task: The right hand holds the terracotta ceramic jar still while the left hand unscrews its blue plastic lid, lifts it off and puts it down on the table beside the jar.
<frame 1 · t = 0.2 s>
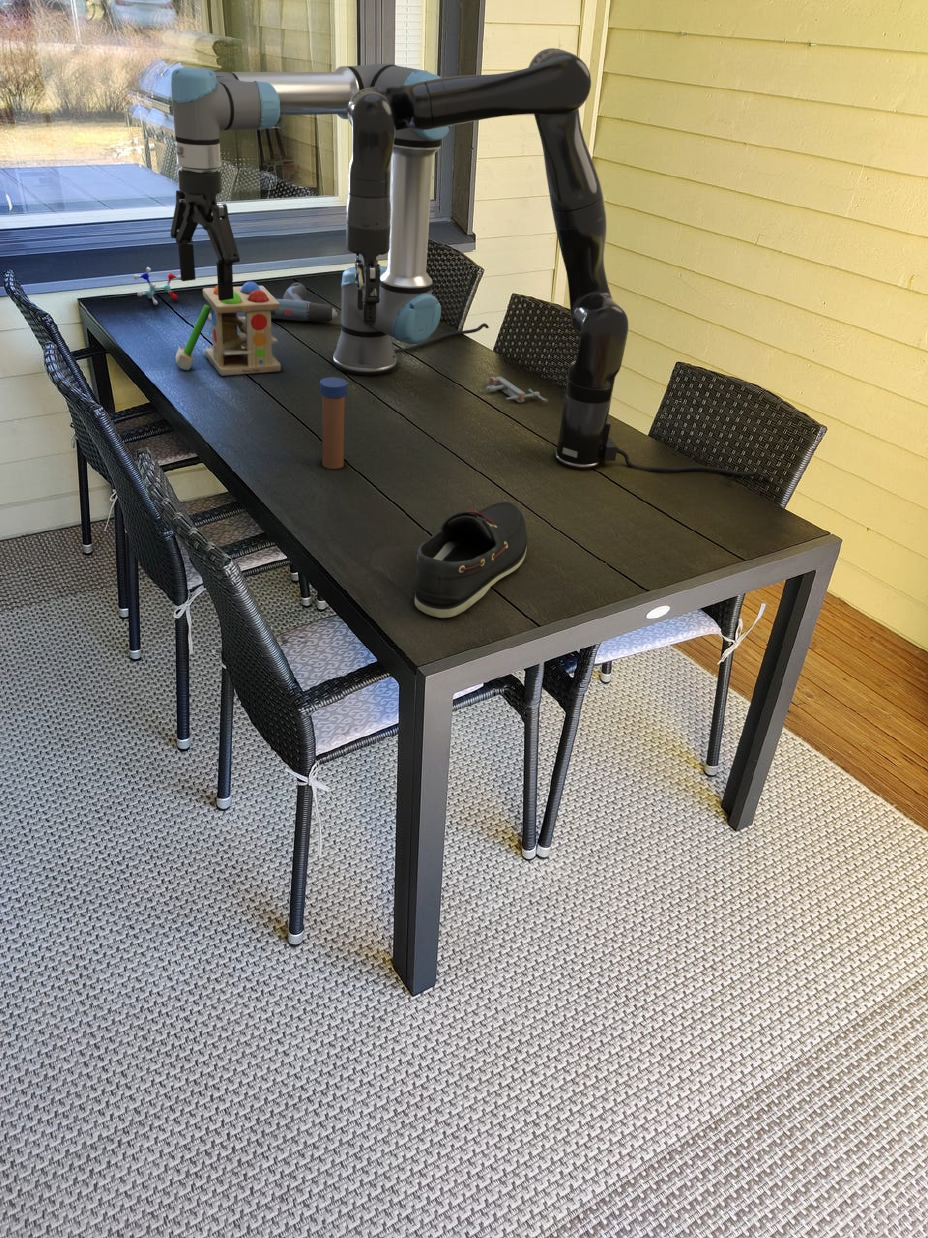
left hand: (206, 289, 186), 28 cm above the table, tool pointing down, fingers open, 13 cm apart
right hand: (366, 316, 176), 29 cm above the table, tool pointing down, fingers open, 8 cm apart
pounding bench toy: (225, 365, 230), on the table
jar: (333, 464, 192), on the table
power drill: (305, 313, 267), on the table
boat shoe: (471, 570, 163), on the table
clamp: (512, 397, 229), on the table
molecular model: (156, 300, 266), on the table
lid: (333, 383, 183), point 16 cm above the table, screwed on, not yet turned
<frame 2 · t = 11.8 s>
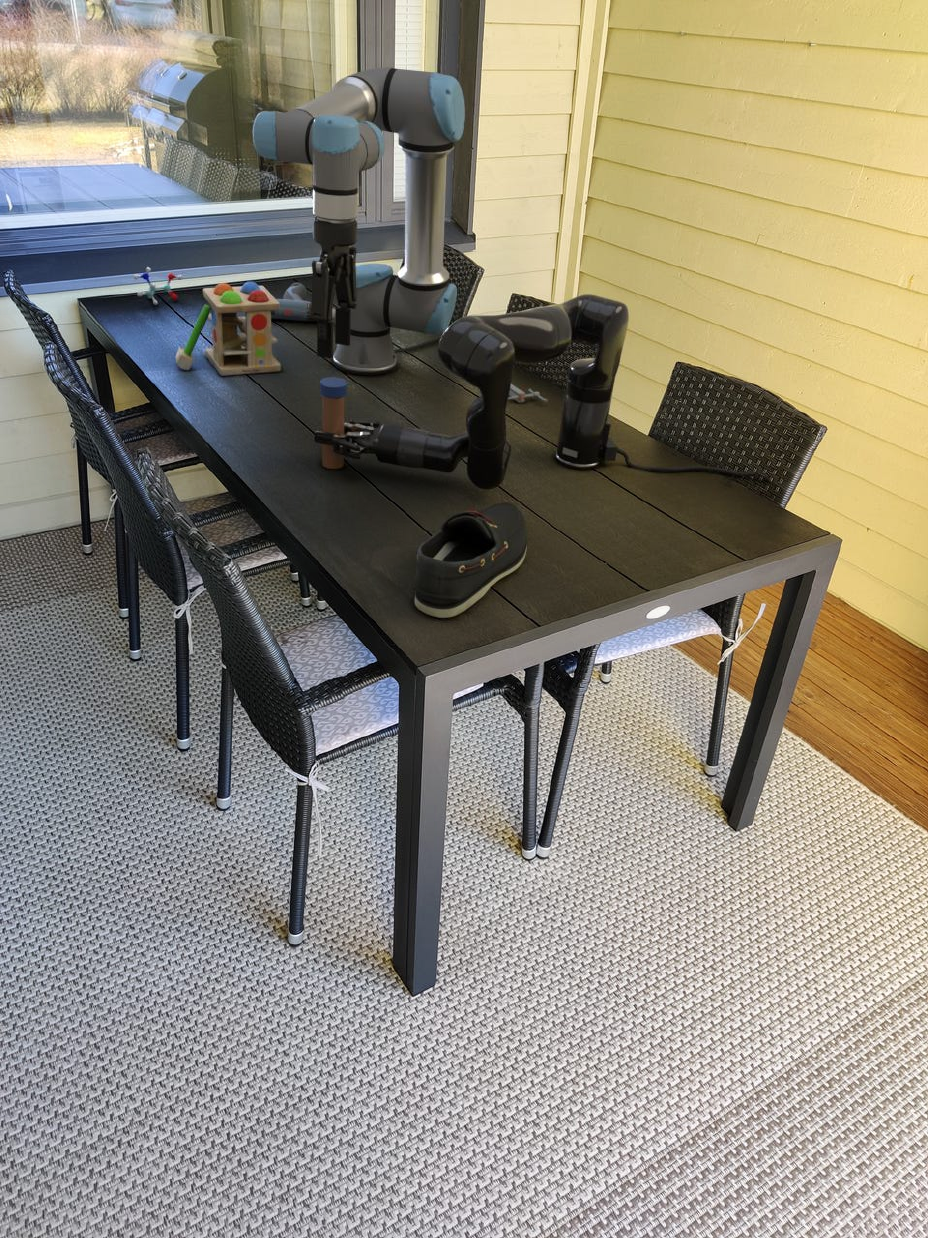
left hand: (334, 349, 179), 23 cm above the table, tool pointing down, fingers open, 7 cm apart
right hand: (319, 431, 189), 6 cm above the table, tool horizontal, fingers closed on jar, 4 cm apart
jar: (333, 464, 192), on the table, touching right hand
everything else where it was.
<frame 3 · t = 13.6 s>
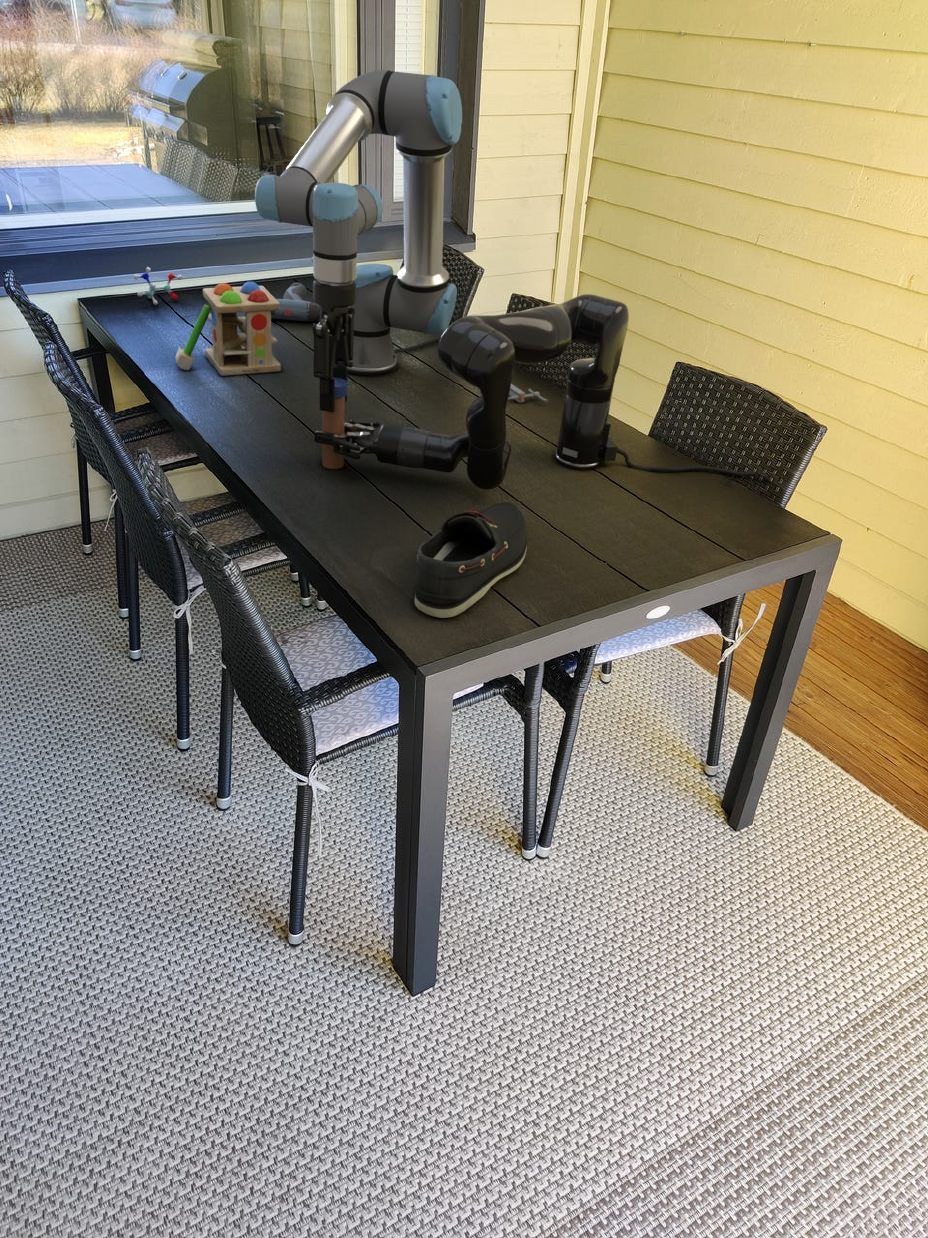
left hand: (333, 405, 185), 12 cm above the table, tool pointing down, fingers closed on lid, 5 cm apart
right hand: (319, 431, 189), 6 cm above the table, tool horizontal, fingers closed on jar, 4 cm apart
jar: (333, 464, 192), on the table, touching right hand
lid: (333, 383, 183), point 16 cm above the table, screwed on, not yet turned, touching left hand
everything else where it was.
when the left hand's fingers open (12 cm above the table, at t = 14.9 s): lid stays where it is, point 17 cm above the table.
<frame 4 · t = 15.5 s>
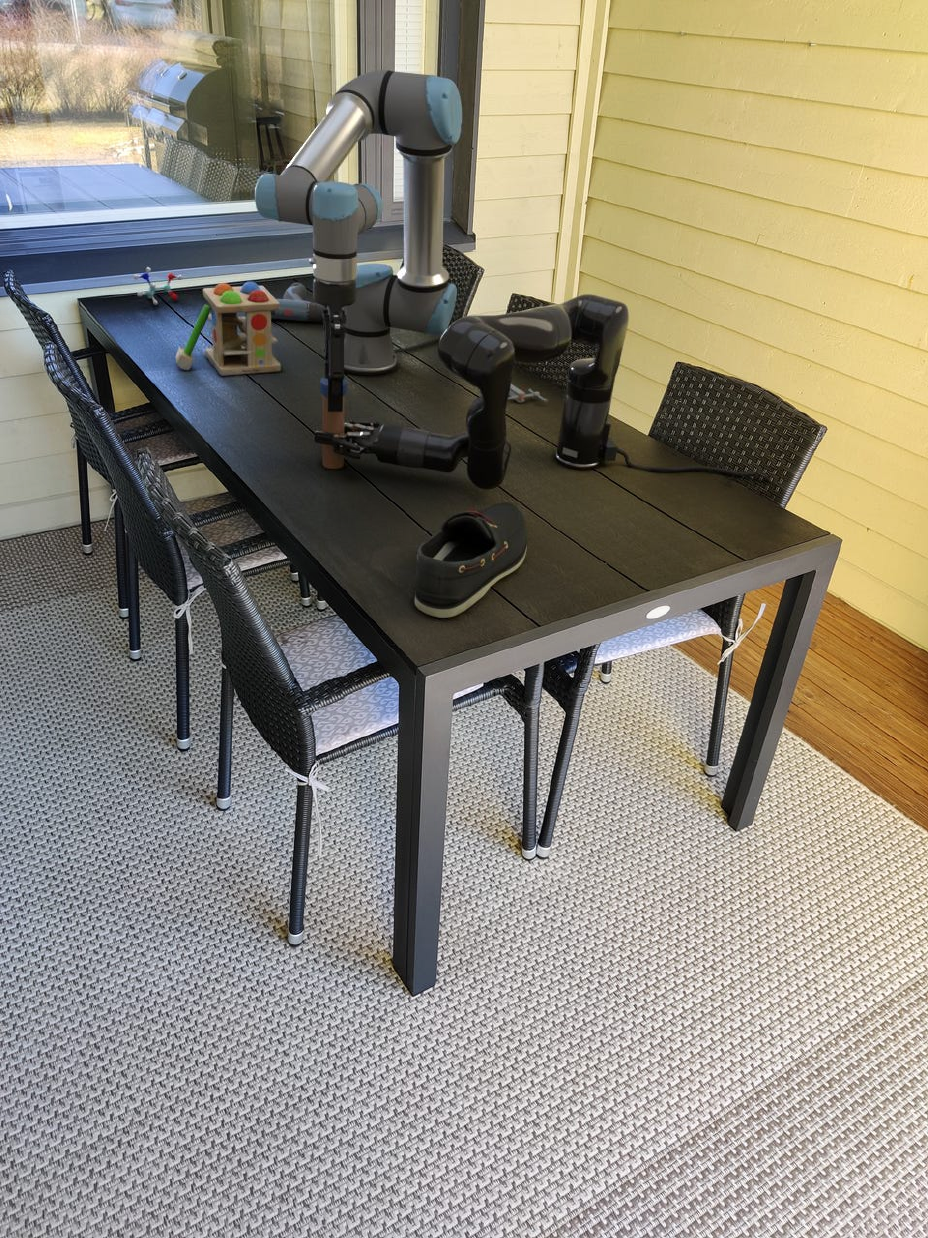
left hand: (333, 402, 185), 13 cm above the table, tool pointing down, fingers open, 7 cm apart
right hand: (319, 431, 189), 6 cm above the table, tool horizontal, fingers closed on jar, 4 cm apart
jar: (333, 464, 192), on the table, touching right hand
lid: (333, 382, 182), point 17 cm above the table, turned 82° so far, risen 0.2 cm, still on its thread
everything else where it was.
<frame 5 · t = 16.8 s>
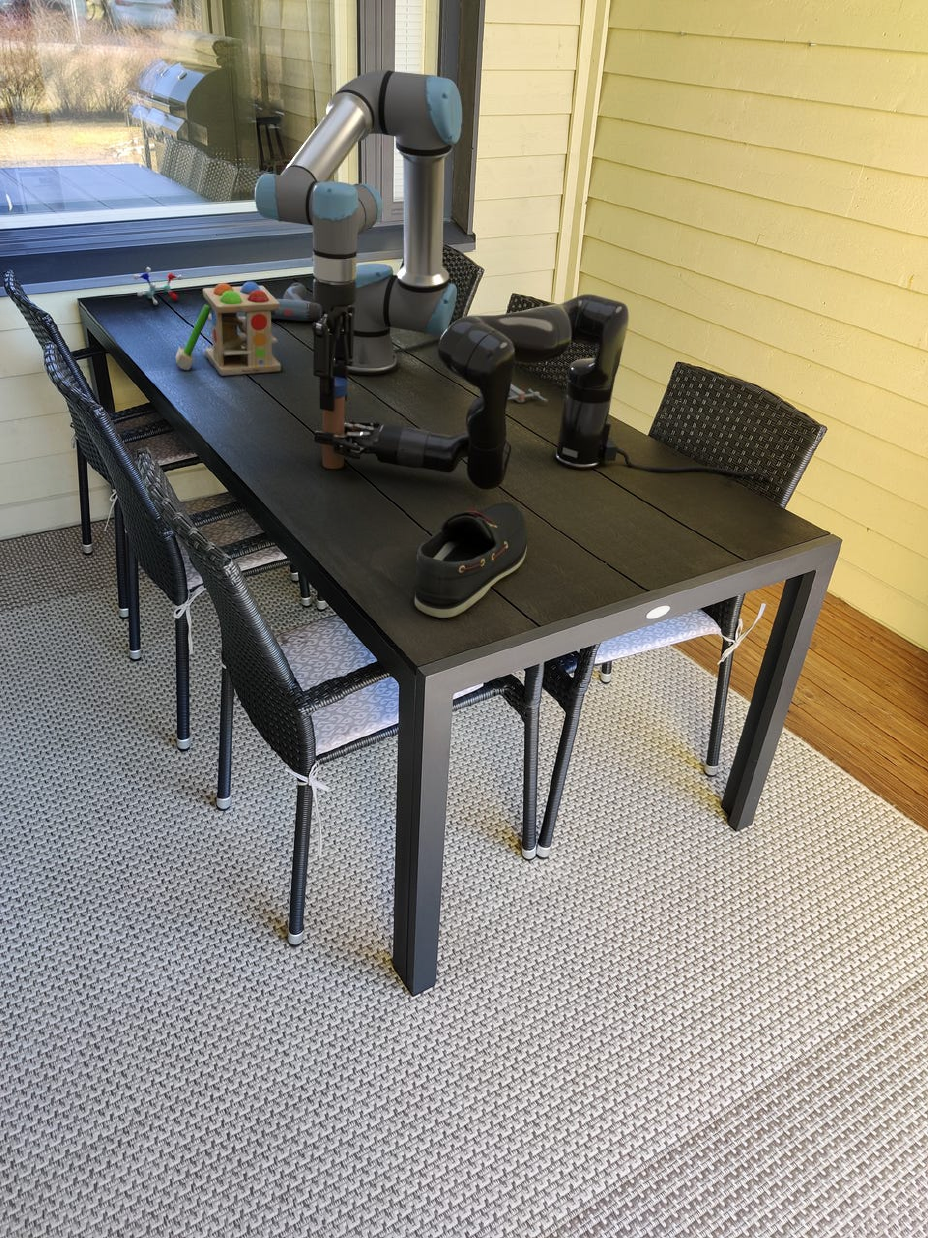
left hand: (333, 404, 185), 12 cm above the table, tool pointing down, fingers closed on lid, 5 cm apart
right hand: (319, 431, 189), 6 cm above the table, tool horizontal, fingers closed on jar, 4 cm apart
jar: (333, 464, 192), on the table, touching right hand
lid: (333, 382, 182), point 17 cm above the table, turned 82° so far, risen 0.2 cm, still on its thread, touching left hand
everything else where it was.
when the left hand's fingers open (0 cm above the table, at t = 24.1 s): lid drops 3 cm, point 2 cm above the table.
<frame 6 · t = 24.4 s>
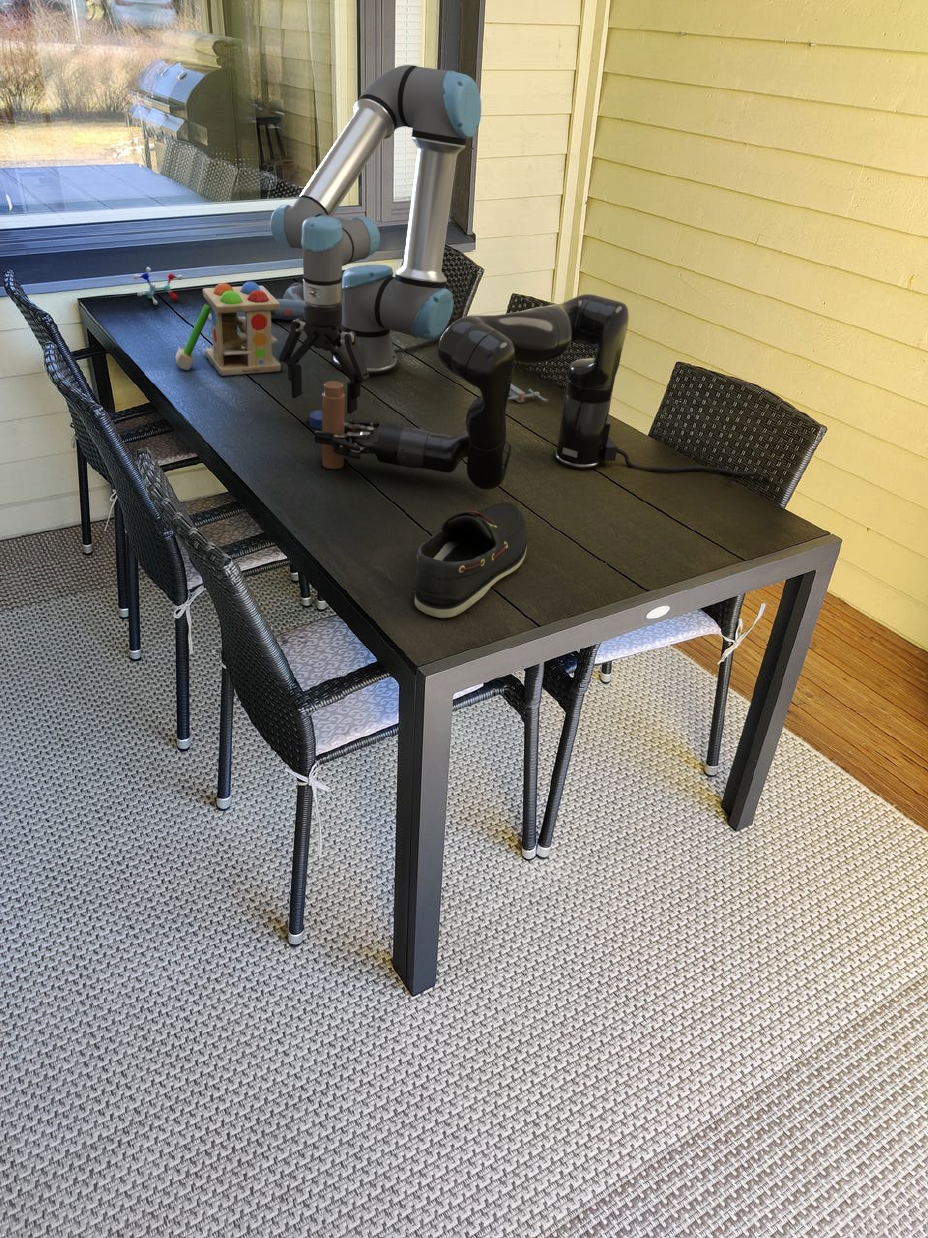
left hand: (324, 403, 205), 4 cm above the table, tool pointing down, fingers open, 13 cm apart
right hand: (319, 431, 189), 6 cm above the table, tool horizontal, fingers closed on jar, 4 cm apart
jar: (333, 464, 192), on the table, touching right hand
lid: (321, 416, 206), point 2 cm above the table, off its thread
everything else where it was.
when the right hand's fingers open (6 cm above the table, at t = 24.7 s): jar stays where it is, on the table.
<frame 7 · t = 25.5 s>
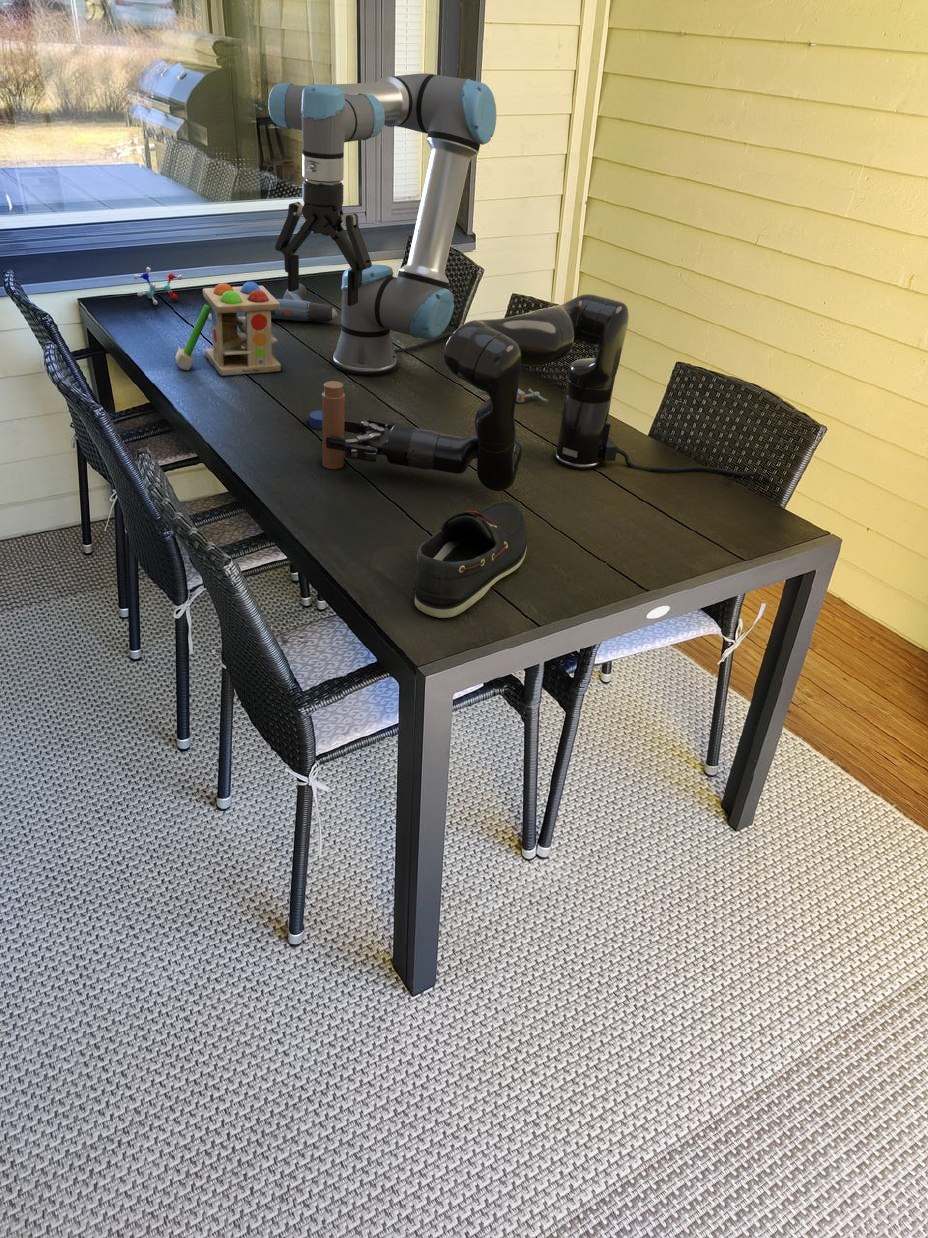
left hand: (322, 297, 192), 27 cm above the table, tool pointing down, fingers open, 13 cm apart
right hand: (334, 433, 188), 6 cm above the table, tool horizontal, fingers open, 8 cm apart
jar: (333, 464, 192), on the table
everything else where it was.
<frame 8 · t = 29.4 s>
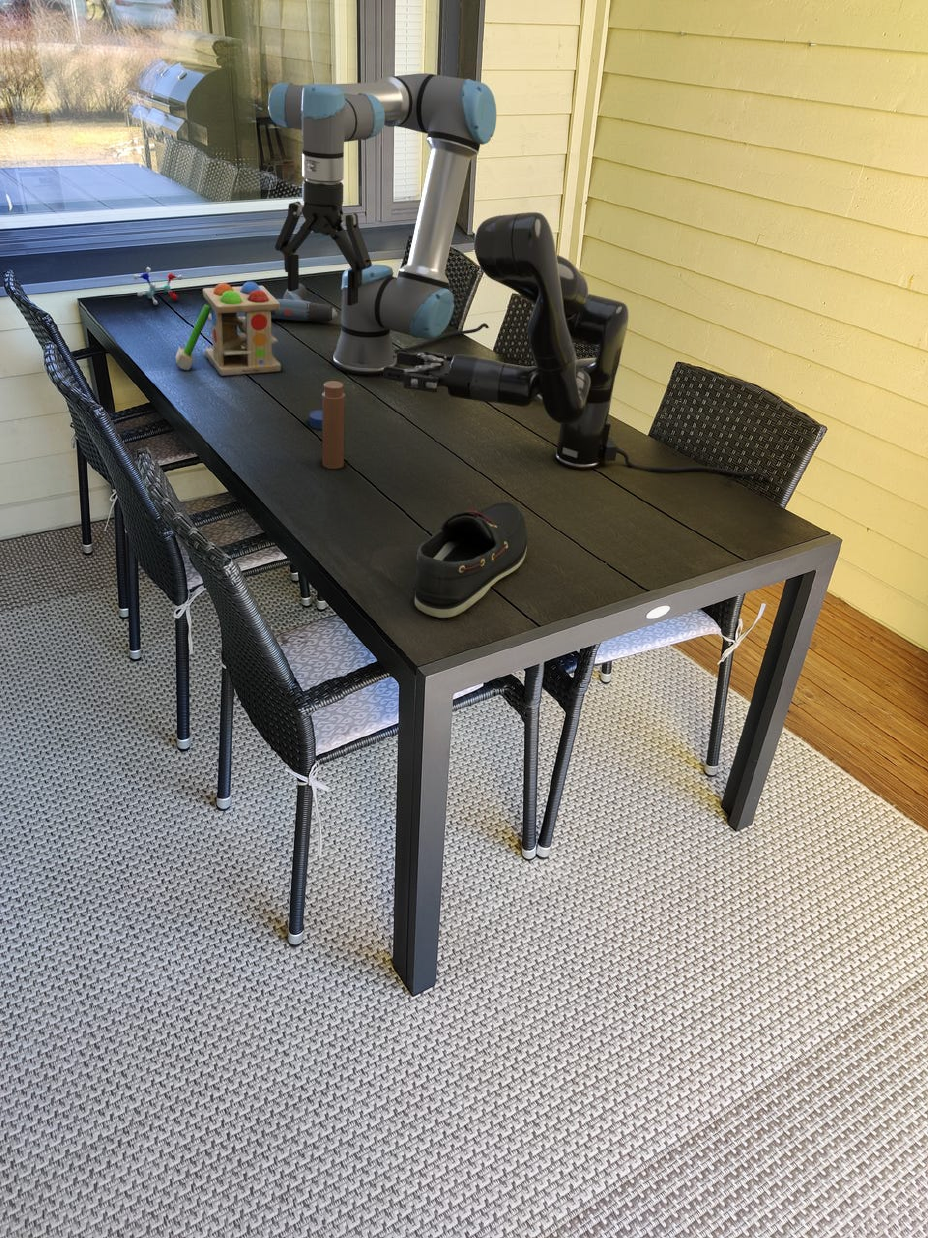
left hand: (322, 296, 192), 27 cm above the table, tool pointing down, fingers open, 13 cm apart
right hand: (390, 364, 178), 22 cm above the table, tool horizontal, fingers open, 8 cm apart
nothing on the table moved.
at the end: lid came off its thread; lid point 1.8 cm above the table; the left hand is holding nothing; the right hand is holding nothing; jar tilted 0°; jar moved 0.0 cm from its start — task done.
